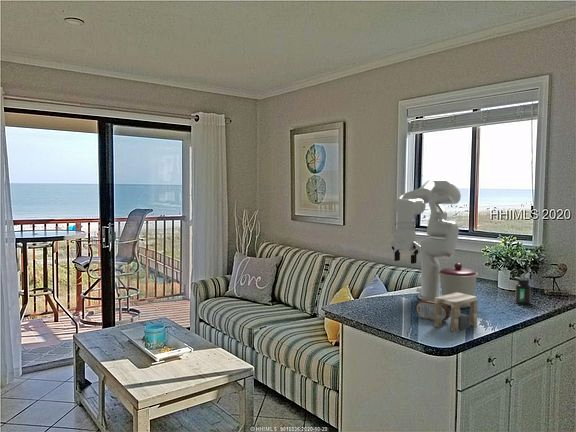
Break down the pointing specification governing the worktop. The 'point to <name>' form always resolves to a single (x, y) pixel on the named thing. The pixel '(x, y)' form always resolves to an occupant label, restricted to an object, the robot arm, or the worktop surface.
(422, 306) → the tin
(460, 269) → the canister
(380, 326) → the worktop surface
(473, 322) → the small wooden stool
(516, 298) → the supplement bottle
